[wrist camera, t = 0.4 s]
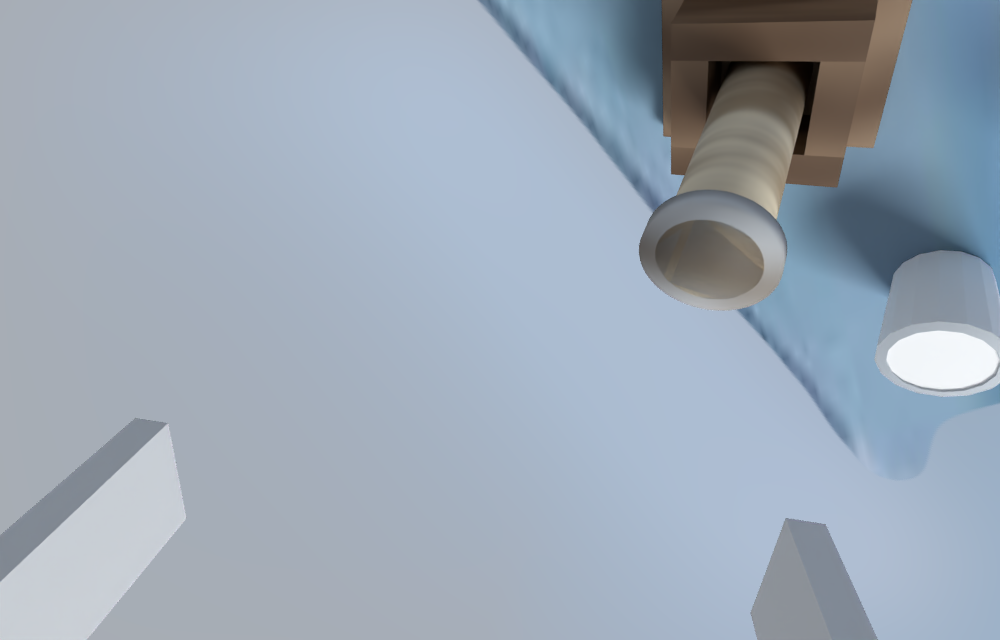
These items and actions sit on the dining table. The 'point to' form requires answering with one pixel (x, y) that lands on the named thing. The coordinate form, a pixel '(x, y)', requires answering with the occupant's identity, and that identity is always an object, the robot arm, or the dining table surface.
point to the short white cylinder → (942, 326)
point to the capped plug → (732, 193)
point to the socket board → (784, 37)
